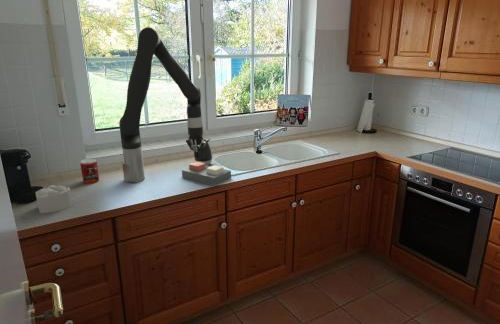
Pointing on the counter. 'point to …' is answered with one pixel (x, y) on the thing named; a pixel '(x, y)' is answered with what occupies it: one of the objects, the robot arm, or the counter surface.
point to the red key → (197, 166)
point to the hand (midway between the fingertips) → (197, 158)
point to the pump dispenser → (205, 154)
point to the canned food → (89, 171)
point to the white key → (215, 170)
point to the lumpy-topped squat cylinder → (53, 198)
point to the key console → (206, 176)
